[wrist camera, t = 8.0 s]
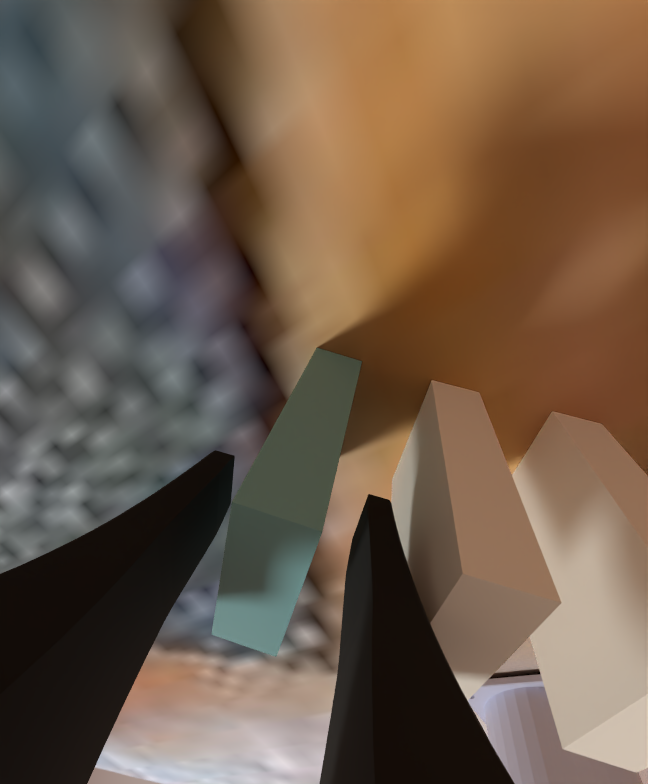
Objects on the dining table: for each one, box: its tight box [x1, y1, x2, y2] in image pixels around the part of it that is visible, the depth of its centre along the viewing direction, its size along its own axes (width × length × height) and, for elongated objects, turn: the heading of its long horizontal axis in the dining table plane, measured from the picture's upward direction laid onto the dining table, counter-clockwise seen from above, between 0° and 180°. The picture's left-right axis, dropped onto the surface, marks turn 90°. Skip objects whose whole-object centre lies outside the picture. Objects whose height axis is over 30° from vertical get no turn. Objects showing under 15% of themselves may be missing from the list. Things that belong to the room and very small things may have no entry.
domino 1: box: [212, 348, 362, 657], centre depth 12 cm, size 2×5×8 cm, turn 166°
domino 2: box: [391, 380, 562, 701], centre depth 11 cm, size 2×5×8 cm, turn 169°
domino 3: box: [512, 411, 648, 773], centre depth 11 cm, size 2×5×8 cm, turn 169°
